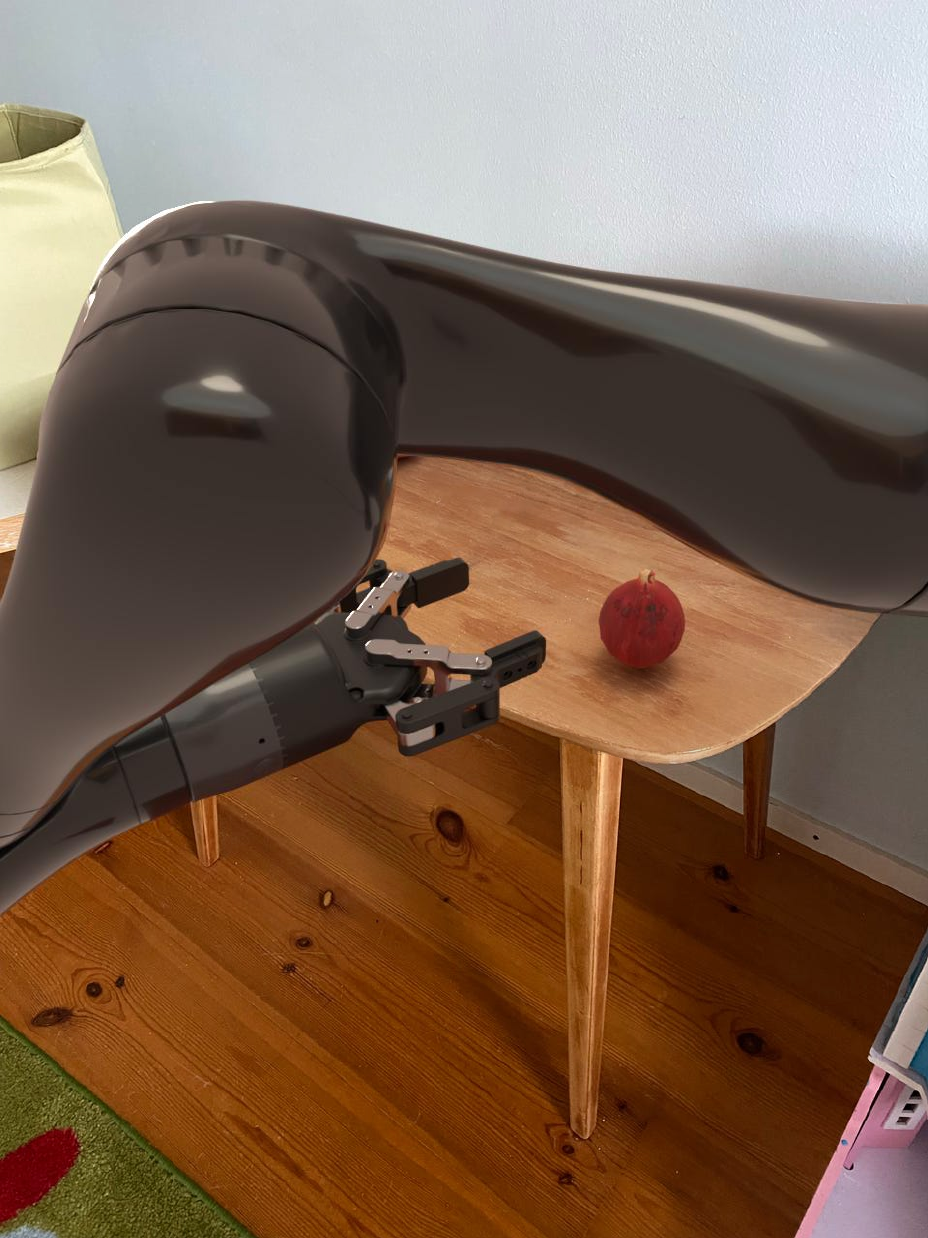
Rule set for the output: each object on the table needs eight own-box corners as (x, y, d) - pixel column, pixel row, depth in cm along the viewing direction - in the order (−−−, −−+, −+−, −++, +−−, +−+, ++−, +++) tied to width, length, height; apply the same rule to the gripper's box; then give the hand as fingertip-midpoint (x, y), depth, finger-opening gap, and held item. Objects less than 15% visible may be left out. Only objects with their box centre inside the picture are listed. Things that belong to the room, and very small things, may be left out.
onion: (684, 691, 67) (698, 598, 62) (600, 692, 68) (606, 600, 63) (672, 637, 72) (684, 546, 67) (593, 638, 72) (598, 548, 67)
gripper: (291, 739, 46) (575, 620, 52) (191, 585, 55) (440, 501, 62) (311, 842, 50) (569, 722, 57) (216, 684, 60) (445, 596, 66)
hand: (502, 607), depth 59 cm, fingers open, 8 cm apart
